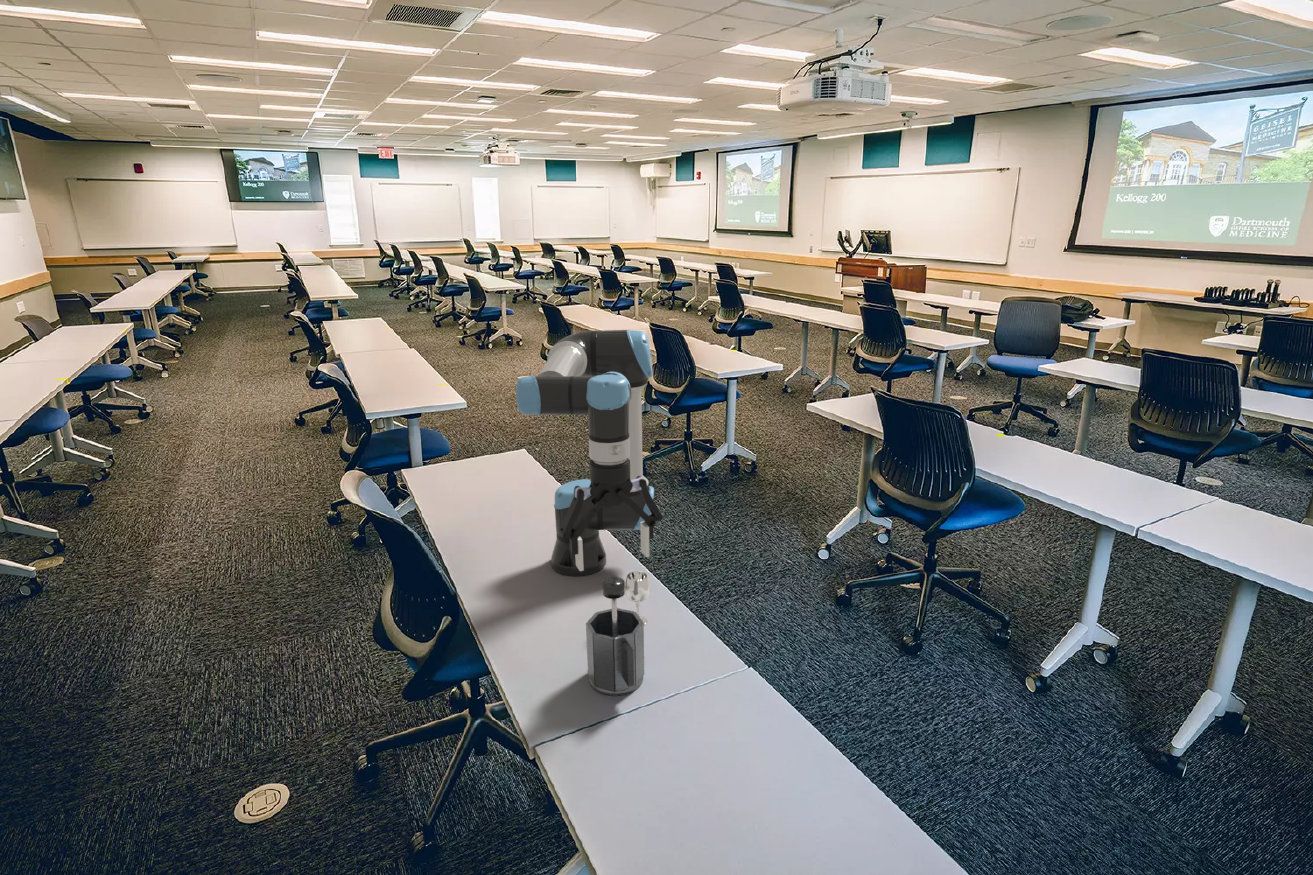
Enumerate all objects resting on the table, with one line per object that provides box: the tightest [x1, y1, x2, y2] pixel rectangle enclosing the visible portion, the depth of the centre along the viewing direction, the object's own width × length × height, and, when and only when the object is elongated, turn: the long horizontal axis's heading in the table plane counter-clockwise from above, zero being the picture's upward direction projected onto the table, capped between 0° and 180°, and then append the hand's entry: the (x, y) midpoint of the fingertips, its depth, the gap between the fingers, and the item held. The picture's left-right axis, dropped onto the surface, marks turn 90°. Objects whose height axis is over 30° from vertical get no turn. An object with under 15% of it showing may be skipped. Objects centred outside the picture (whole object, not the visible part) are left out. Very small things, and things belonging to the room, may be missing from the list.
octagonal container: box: [585, 607, 645, 697], centre depth 139 cm, size 14×11×13 cm
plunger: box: [601, 576, 626, 637], centre depth 139 cm, size 7×7×21 cm
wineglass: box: [625, 570, 651, 626], centre depth 161 cm, size 6×6×12 cm
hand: (613, 561), depth 135 cm, fingers open, 13 cm apart
